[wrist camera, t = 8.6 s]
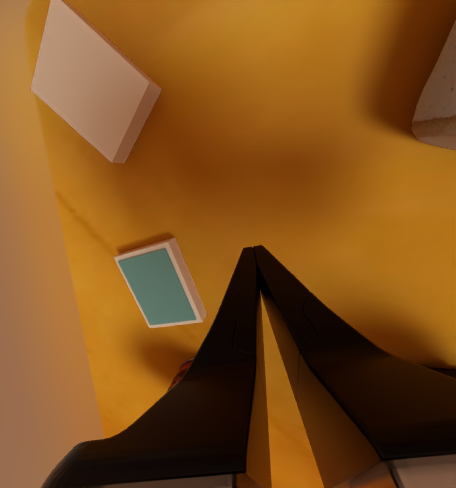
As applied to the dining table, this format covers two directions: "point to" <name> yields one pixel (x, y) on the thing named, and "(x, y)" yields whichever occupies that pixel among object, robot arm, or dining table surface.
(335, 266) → the dining table surface
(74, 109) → the tile
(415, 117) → the ceramic mug
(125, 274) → the flat tile
